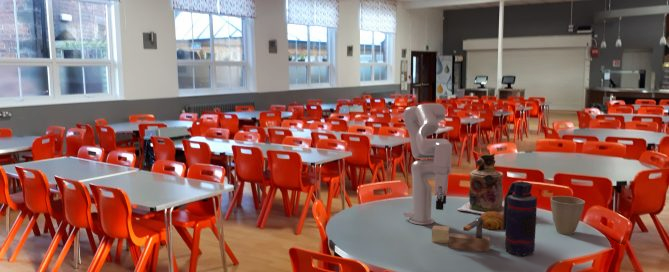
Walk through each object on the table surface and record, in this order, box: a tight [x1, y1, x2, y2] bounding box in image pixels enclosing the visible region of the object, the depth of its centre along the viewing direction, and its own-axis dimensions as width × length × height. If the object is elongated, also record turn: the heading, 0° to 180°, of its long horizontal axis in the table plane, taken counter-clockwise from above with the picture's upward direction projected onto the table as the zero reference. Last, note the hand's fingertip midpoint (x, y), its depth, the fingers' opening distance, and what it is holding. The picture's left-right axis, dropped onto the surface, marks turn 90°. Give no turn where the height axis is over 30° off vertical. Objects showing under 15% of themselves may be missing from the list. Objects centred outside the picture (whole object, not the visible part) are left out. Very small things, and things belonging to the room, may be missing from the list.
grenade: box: [502, 180, 538, 257], centre depth 223 cm, size 14×12×30 cm
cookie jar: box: [456, 152, 504, 215], centre depth 288 cm, size 25×25×32 cm
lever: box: [462, 217, 483, 232], centre depth 221 cm, size 16×3×2 cm, turn 142°
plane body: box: [448, 224, 491, 253], centre depth 228 cm, size 17×5×11 cm, turn 71°
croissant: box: [478, 211, 504, 230], centre depth 261 cm, size 14×16×8 cm
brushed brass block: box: [431, 225, 450, 244], centre depth 238 cm, size 7×6×6 cm
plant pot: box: [550, 195, 586, 236], centre depth 249 cm, size 15×15×16 cm
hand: (440, 206), depth 237 cm, fingers open, 9 cm apart
